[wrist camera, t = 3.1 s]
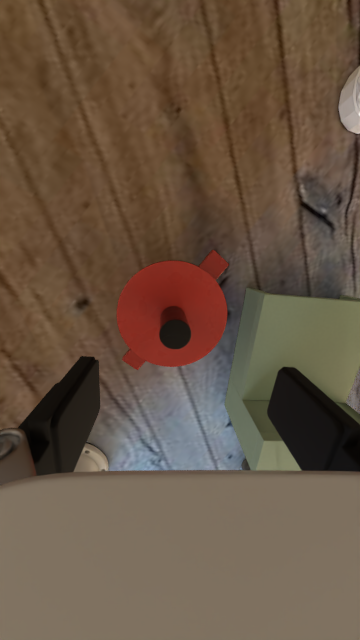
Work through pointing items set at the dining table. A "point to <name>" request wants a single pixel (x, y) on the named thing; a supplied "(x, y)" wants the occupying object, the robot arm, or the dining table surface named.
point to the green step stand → (289, 363)
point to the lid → (171, 313)
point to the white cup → (351, 103)
